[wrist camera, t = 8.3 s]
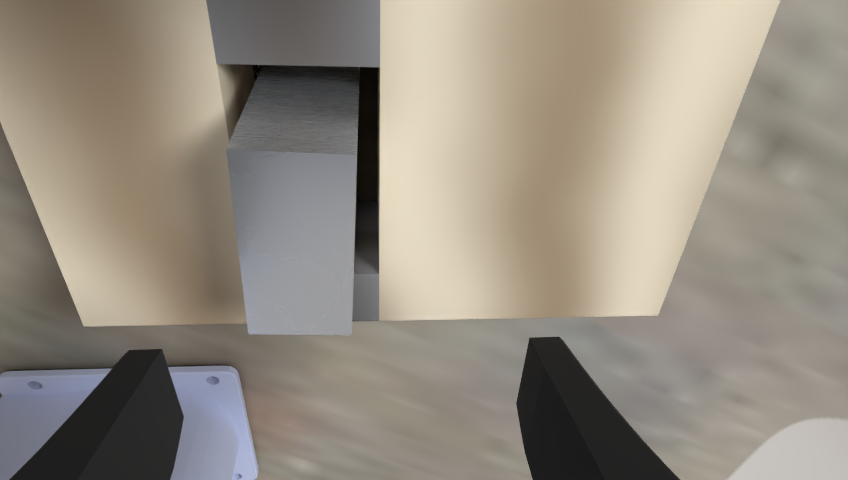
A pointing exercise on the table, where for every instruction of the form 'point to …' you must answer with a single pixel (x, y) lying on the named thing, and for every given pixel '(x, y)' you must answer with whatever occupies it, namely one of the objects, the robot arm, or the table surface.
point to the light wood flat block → (382, 145)
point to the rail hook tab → (297, 199)
